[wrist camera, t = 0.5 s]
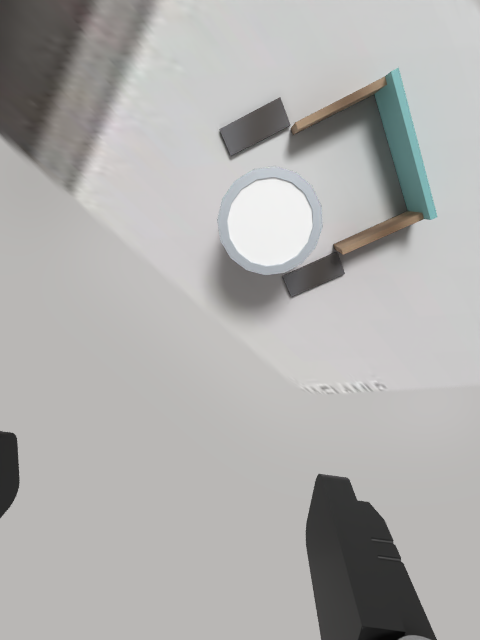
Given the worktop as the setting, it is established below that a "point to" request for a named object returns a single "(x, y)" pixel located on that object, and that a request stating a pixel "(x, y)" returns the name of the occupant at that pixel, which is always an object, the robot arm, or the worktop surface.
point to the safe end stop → (404, 146)
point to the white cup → (270, 220)
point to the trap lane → (276, 119)
